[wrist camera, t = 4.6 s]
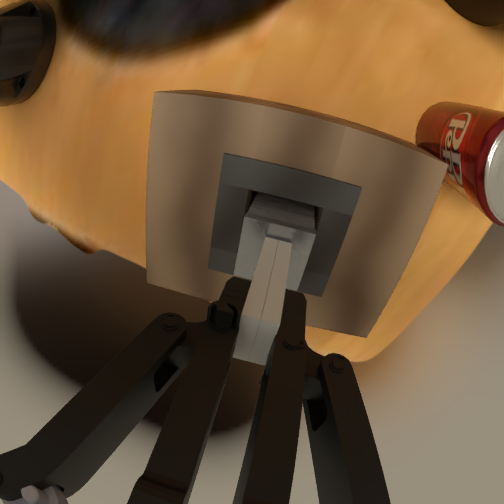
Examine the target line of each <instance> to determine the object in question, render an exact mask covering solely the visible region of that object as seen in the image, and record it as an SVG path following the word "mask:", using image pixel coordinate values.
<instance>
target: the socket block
mask: <svg viewBox="0 0 504 504" xmlns="http://www.w3.org/2000/svg"><path fill="white" fill-rule="evenodd" d="M447 168H448V164H447V163H445V162H443V161H442V160H440V159H438V158H437V157H435V156H433V155H432V154H430V153H428V152H427V151H425V150H423V149H421V148H420V147H418V146H416V145H414V144H412V143H410V142H408V141H405V140H402V139H400V138H397V137H395V136H392V135H389V134H386V133H384V132H381V131H378V130H375V129H372V128H369V127H366V126H363V125H360V124H357V123H354V122H350V121H347V120H344V119H340V118H337V117H333V116H330V115H326V114H323V113H319V112H315V111H311V110H307V109H303V108H299V107H295V106H290V105H286V104H281V103H277V102H272V101H267V100H261V99H256V98H250V97H245V96H239V95H232V94H225V93H218V92H210V91H202V90H175V91H158V92H155V93H154V101H153V109H152V119H151V129H150V141H149V154H148V171H147V194H146V268H147V282H148V283H151V284H154V285H157V286H160V287H164V288H167V289H170V290H174V291H177V292H180V293H184V294H187V295H191V296H194V297H198V298H202V299H205V300H208V301H212V302H215V301H218V300H219V298H220V295H221V293H222V291H223V289H224V286H225V284H226V281H227V280H229V279H230V278H231V277H233V276H235V275H234V270H235V264H236V259H237V253H238V248H239V243H240V237H241V232H242V227H243V221H244V216H245V214H246V212H247V213H248V211H249V209H250V207H251V205H252V202H253V200H254V198H255V196H256V194H257V192H258V191H259V192H263V193H267V194H271V195H275V196H279V197H283V198H287V199H291V200H295V201H299V202H303V203H307V204H311V205H314V217H315V230H316V236H315V239H314V243H313V246H312V249H311V252H310V255H309V258H308V261H307V264H306V267H305V270H304V273H303V275H302V278H301V281H300V284H299V287H298V290H297V291H296V292H300V293H303V294H304V296H305V298H306V300H307V308H306V324H305V325H307V326H312V327H316V328H321V329H325V330H330V331H335V332H340V333H344V334H349V335H354V336H359V337H364V338H366V337H367V336H368V334H369V333H370V331H371V329H372V328H373V326H374V324H375V323H376V321H377V319H378V318H379V316H380V314H381V312H382V311H383V309H384V307H385V305H386V304H387V302H388V300H389V298H390V296H391V295H392V293H393V291H394V289H395V287H396V285H397V283H398V281H399V280H400V278H401V276H402V274H403V272H404V270H405V268H406V266H407V264H408V262H409V260H410V258H411V256H412V253H413V251H414V249H415V247H416V245H417V243H418V241H419V238H420V236H421V234H422V232H423V229H424V227H425V225H426V223H427V220H428V218H429V215H430V213H431V211H432V208H433V206H434V203H435V201H436V198H437V196H438V193H439V190H440V188H441V185H442V182H443V180H444V177H445V174H446V171H447ZM235 277H239V276H235ZM239 278H242V279H246V280H250V281H252V280H251V279H247V278H243V277H239ZM286 289H287V288H286ZM288 290H291V289H288ZM292 291H295V290H292Z"/></svg>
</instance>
